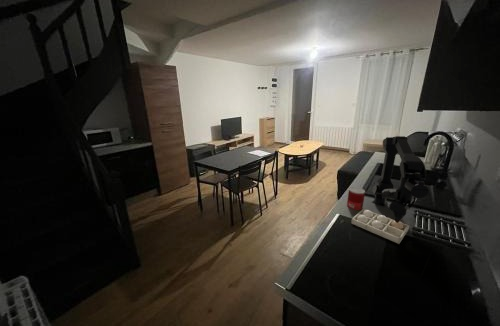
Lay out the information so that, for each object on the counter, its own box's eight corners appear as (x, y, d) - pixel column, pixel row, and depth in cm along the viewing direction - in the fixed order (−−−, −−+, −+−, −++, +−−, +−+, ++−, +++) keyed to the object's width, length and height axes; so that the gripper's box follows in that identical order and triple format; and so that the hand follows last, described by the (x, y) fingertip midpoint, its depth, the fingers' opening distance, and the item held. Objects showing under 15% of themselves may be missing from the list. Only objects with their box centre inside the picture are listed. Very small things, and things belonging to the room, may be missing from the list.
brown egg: (392, 225, 100) (394, 217, 98) (403, 229, 96) (405, 221, 95) (388, 229, 97) (391, 220, 95) (400, 233, 94) (402, 225, 92)
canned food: (364, 211, 113) (367, 193, 109) (348, 210, 114) (351, 192, 111) (359, 204, 120) (362, 187, 117) (345, 203, 122) (347, 186, 118)
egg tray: (362, 213, 111) (363, 208, 110) (408, 231, 96) (409, 225, 95) (350, 224, 102) (351, 218, 101) (398, 244, 88) (400, 239, 87)
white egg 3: (372, 225, 100) (374, 217, 99) (383, 229, 97) (385, 221, 95) (369, 229, 97) (370, 220, 96) (379, 233, 94) (381, 225, 92)
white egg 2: (364, 214, 109) (365, 207, 107) (373, 218, 106) (374, 210, 104) (360, 218, 106) (361, 210, 105) (370, 221, 103) (371, 213, 101)
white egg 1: (358, 219, 105) (360, 211, 103) (368, 223, 101) (369, 215, 100) (354, 223, 102) (356, 215, 101) (364, 227, 99) (366, 219, 97)
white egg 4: (377, 219, 104) (379, 212, 103) (388, 223, 101) (389, 215, 99) (374, 223, 101) (375, 215, 100) (384, 227, 98) (386, 219, 96)
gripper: (392, 176, 101) (386, 204, 106) (378, 188, 89) (372, 218, 94) (421, 183, 93) (413, 213, 97) (409, 196, 81) (401, 229, 86)
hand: (399, 218), depth 94 cm, fingers open, 9 cm apart
